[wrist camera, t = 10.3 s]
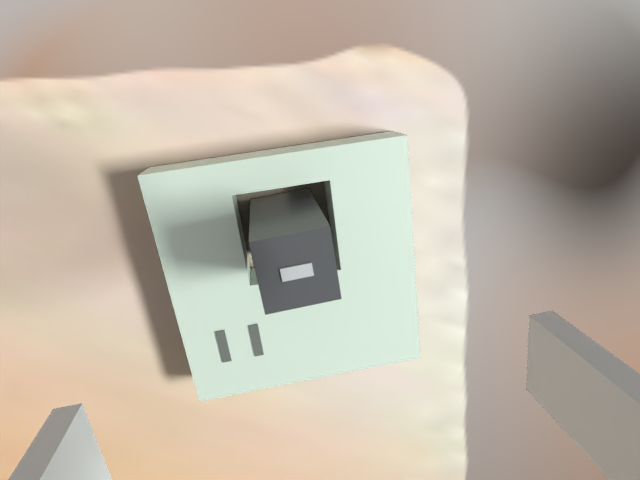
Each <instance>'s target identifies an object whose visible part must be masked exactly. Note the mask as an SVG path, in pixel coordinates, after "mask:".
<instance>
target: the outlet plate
mask: <svg viewBox="0 0 640 480" xmlns="http://www.w3.org/2000/svg"><path fill="white" fill-rule="evenodd" d="M137 177H138V180H139V184H140V188H141V191H142V195H143V199H144V202H145V206H146V209H147V213H148V217H149V220H150V224H151V228H152V231H153V235H154V239H155V242H156V246H157V249H158V253H159V257H160V260H161V264H162V268H163V271H164V275H165V279H166V282H167V286H168V290H169V293H170V297H171V300H172V304H173V308H174V311H175V315H176V319H177V322H178V326H179V330H180V333H181V337H182V340H183V344H184V348H185V351H186V355H187V359H188V362H189V366H190V370H191V373H192V377H193V380H194V384H195V388H196V391H197V395H198V399H199V402H200V401H205V400H210V399H215V398H220V397H225V396H230V395H235V394H240V393H245V392H250V391H255V390H261V389H266V388H271V387H276V386H281V385H286V384H291V383H296V382H301V381H306V380H311V379H316V378H321V377H326V376H331V375H336V374H341V373H346V372H351V371H357V370H362V369H367V368H372V367H377V366H382V365H387V364H392V363H397V362H402V361H407V360H412V359H417V358H420V343H419V326H418V309H417V293H416V276H415V259H414V242H413V225H412V208H411V192H410V175H409V158H408V141H407V135H405V134H402V133H398V132H394V131H389V132H382V133H375V134H369V135H362V136H355V137H349V138H342V139H335V140H328V141H322V142H315V143H308V144H302V145H295V146H288V147H281V148H275V149H268V150H261V151H255V152H248V153H241V154H235V155H228V156H221V157H214V158H208V159H201V160H194V161H188V162H181V163H174V164H168V165H161V166H154V167H149V168H148V169H146V170H145V171H143V172H142V173H140V174H139V175H137ZM322 181H324V184H325V192H326V200H327V208H328V216H329V223H330V228H331V235H332V241H333V247H334V254H335V260H336V266H337V273H338V279H339V285H340V292H341V298H342V299H339V300H334V301H329V302H325V303H320V304H315V305H310V306H305V307H301V308H296V309H291V310H286V311H281V312H277V313H272V314H267V315H265V312H264V308H263V303H262V299H261V295H260V290H259V286H258V281H257V277H256V273H255V268H250V263H249V258H248V253H247V248H246V243H245V238H244V233H243V228H242V223H241V218H240V213H239V208H238V203H237V198H236V195H239V194H246V193H252V192H259V191H265V190H271V189H278V188H284V187H290V186H297V185H303V184H309V183H316V182H322Z"/></svg>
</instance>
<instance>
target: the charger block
mask: <svg viewBox="0 0 640 480" xmlns="http://www.w3.org/2000/svg"><path fill="white" fill-rule="evenodd" d="M249 246H250V251H251V255H252V259H253V264H254V268H255V273H256V277H257V281H258V286H259V290H260V295H261V299H262V303H263V308H264V312H265V315H267V314H272V313H277V312H281V311H286V310H291V309H296V308H301V307H305V306H310V305H315V304H320V303H325V302H329V301H334V300H339V299H342V298H341V292H340V285H339V279H338V273H337V266H336V260H335V254H334V247H333V241H332V235H331V228H330V225H329V223H328V221H327V220H326V218H325V216H324V214H323V212H322V211H321V209H320V207H319V205H318V203H317V202H316V200H315V198H314V196H313V194H312V192H311V191H310V189H309V188H306V189H301V190H296V191H290V192H285V193H280V194H274V195H269V196H264V197H258V198H253V199H251V205H250V224H249Z"/></svg>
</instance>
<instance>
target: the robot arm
mask: <svg viewBox="0 0 640 480" xmlns="http://www.w3.org/2000/svg"><path fill="white" fill-rule="evenodd" d="M527 359H528V360H527V383H526V390H527V391H528V392H529V393H530V394H531V395H532V396H533V397H534V398H535V400H536V401H537V402H538V403H539V404H540V405H541V406H542V407H543V408H544V409H545V410H546V412H547V413H548V414H549V415H550V416H551V417H552V418H553V419H554V420H555V421H556V422H557V423H558V424H559V426H560V427H561V428H562V429H563V430H564V431H565V432H566V433H567V434H568V435H569V436H570V437H571V439H572V440H573V441H574V442H575V443H576V444H577V445H578V446H579V447H580V448H581V449H582V451H583V452H584V453H585V454H586V455H587V456H588V457H589V458H590V459H591V460H592V461H593V462H594V464H595V465H596V466H597V467H598V468H599V469H600V470H601V471H602V472H603V473H604V475H605V476H606V477H607V478H608V479H609V480H640V374H639V373H638V372H636V371H635V370H633V369H632V368H631V367H629V366H628V365H627V364H625V363H624V362H623V361H621V360H620V359H619V358H617V357H616V356H614V355H613V354H612V353H610V352H609V351H607V350H606V349H605V348H603V347H602V346H601V345H599V344H598V343H596V342H595V341H594V340H592V339H591V338H590V337H588V336H587V335H586V334H584V333H583V332H581V331H580V330H579V329H577V328H576V327H574V326H573V325H572V324H570V323H569V322H568V321H566V320H565V319H564V318H562V317H561V316H559V315H558V314H557V313H555V312H554V311H548V312H543V313H538V314H533V315H529V333H528V358H527ZM9 480H111V476H110V473H109V471H108V468H107V466H106V463H105V461H104V458H103V455H102V453H101V450H100V448H99V445H98V443H97V440H96V437H95V435H94V432H93V430H92V427H91V425H90V422H89V419H88V417H87V414H86V412H85V409H84V406H83V404H82V403H81V404H76V405H71V406H66V407H61V408H56V409H53V410H52V412H51V414H50V415H49V417H48V418H47V420H46V421H45V423H44V425H43V426H42V428H41V429H40V431H39V432H38V434H37V436H36V437H35V439H34V440H33V442H32V443H31V445H30V447H29V448H28V450H27V451H26V453H25V454H24V456H23V458H22V459H21V461H20V462H19V464H18V466H17V467H16V469H15V470H14V472H13V473H12V475H11V477H10V478H9Z"/></svg>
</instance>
